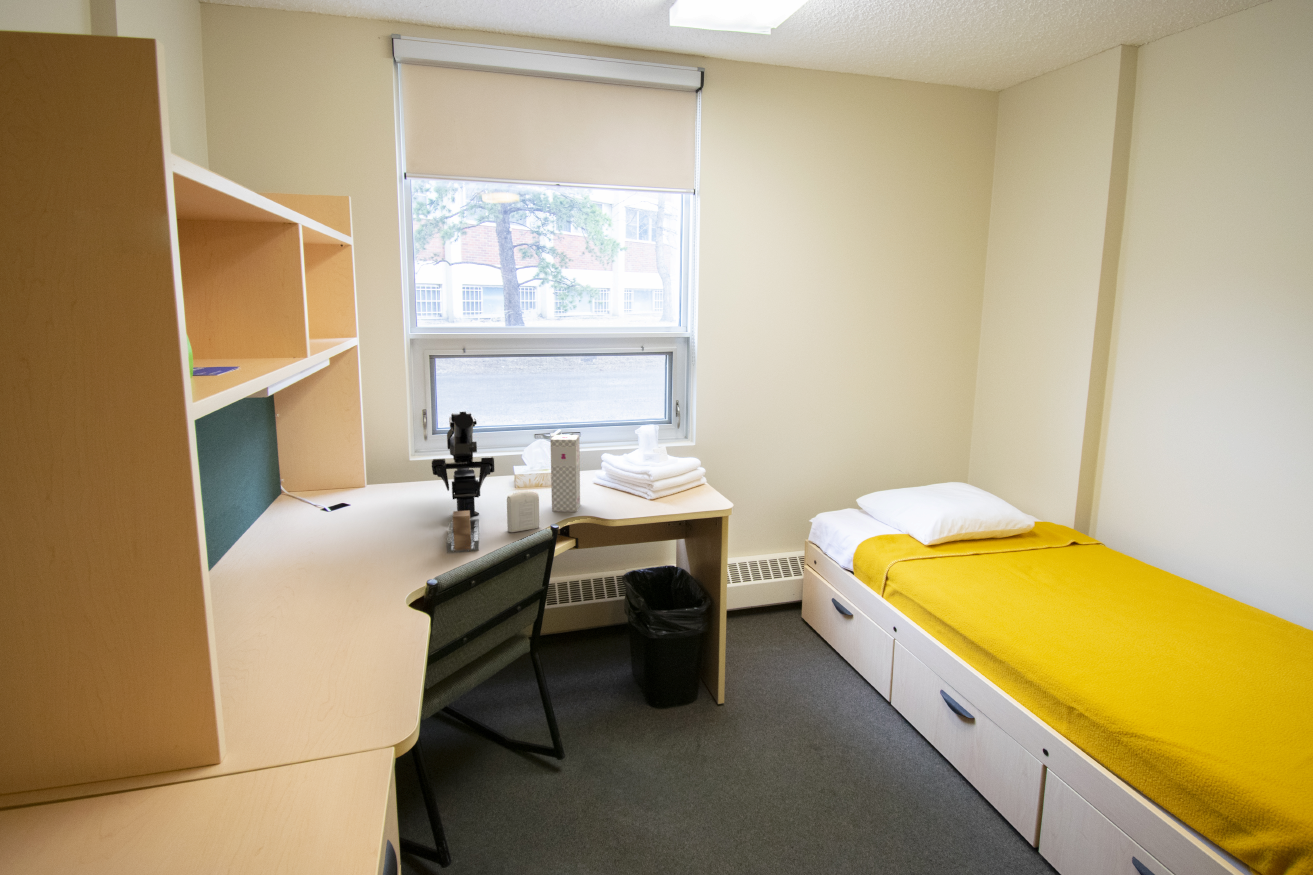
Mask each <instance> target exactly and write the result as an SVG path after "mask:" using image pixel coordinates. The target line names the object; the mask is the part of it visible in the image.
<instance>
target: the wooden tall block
mask: <svg viewBox="0 0 1313 875" xmlns="http://www.w3.org/2000/svg"><path fill="white" fill-rule="evenodd" d="M470 520H471V516H470V510H468V511H457V510H454V511H453V512H452V521H453V530H454V549H455V550H466V549H471V526H470Z"/></svg>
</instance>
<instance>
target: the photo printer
mask: <svg viewBox="0 0 1313 875" xmlns="http://www.w3.org/2000/svg"><path fill="white" fill-rule="evenodd" d="M506 516H507V519H506V520H507V522H506V523H507V532H509V533H516V532H522V531H527V530H534V529H539V528H540V497H539V493H538V492H536V491H534V490H520V491H516V492H513V493H511V494H509V495H507V497H506Z"/></svg>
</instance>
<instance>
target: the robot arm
mask: <svg viewBox="0 0 1313 875" xmlns="http://www.w3.org/2000/svg"><path fill="white" fill-rule="evenodd" d="M450 415H451V416H449V417H448V418H449V430H448V431H447V432H446V442H447V445H446V446H447V450H449V455H450V456H452V457H453V458H452V459H453V462H446V458H433V459H432V460H431V469H432V471H431V472H432V475H434V476H437V478H441V479H442V481H443V483H444V486H445V488H446V490H447V492H449V491H450V484H449V478H448V471H447V470H454V469H455V470H454V471H453V480H452V481H451V498H452V500H456V511H468V510H470V517H474V516H479V515H480V512H478V511H476V510H475V509H476V508H475V507H476V506H475V498H479V497H480V496H481V489H482V488H481V487H482V486H483V483H484V481H485V479H486V478H487V476H489V475H491V474H492V473H495V458H494V457H493V456H481V457H480V461H474V453H478V446H477V445H478V442H477V441H473V438H474V437H473V433H474V428H475V426H476V425H477V420H476V419H475V417H474V415H472V413H471V412H467V411H459V412H455V413H451V414H450ZM474 469H479V475H478V479H477V477H476V473H475V470H474Z"/></svg>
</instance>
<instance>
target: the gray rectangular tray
mask: <svg viewBox="0 0 1313 875" xmlns="http://www.w3.org/2000/svg"><path fill="white" fill-rule="evenodd" d="M470 526H471V549H466V550H455V549H454V530H453V520H450V521H449V524H448V531H447V539H446V553H447V554H451V553H464V552H475V551H477V552H478V551H480V550H479V549H480V519H479V518H477V519H476V518H474V519H473V518H471V519H470Z"/></svg>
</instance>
